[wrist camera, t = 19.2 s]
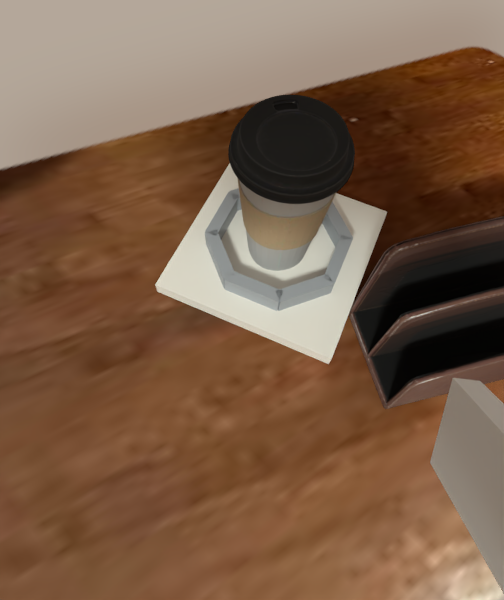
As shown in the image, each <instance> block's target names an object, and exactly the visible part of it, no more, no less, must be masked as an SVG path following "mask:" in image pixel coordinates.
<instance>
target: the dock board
mask: <svg viewBox="0 0 504 600" xmlns="http://www.w3.org/2000/svg"><path fill="white" fill-rule="evenodd" d="M386 214H387V211H384V210H381V209H379V208H376V207H373V206H370V205H367V204H365V203H362V202H359V201H356V200H354V199H351V198H348V197H345V196H343V195H340V194H337V193H336V195H335V197H334V199H333V201H332V203H331V205H330V207H329V209H328V211H327V213H326V215H325V217H324V219H323V222H322V224H321V226H320V228H319V230H318V232H317V234H316V236H315V237H314V238H313V239H312V241H311V243H310V245H309V247H308V249H307V251H306V253H305V255H304V257H303V259H302V260H301V261H300V263H298V264H297V265H296V266H294V267H292V268H290V269H286V270H280V271H272V270H268V269H265V268H262V267H261V266H259V265H258V264H257V263H256V262H255V261H254V260H253V258H252V257H251V255H250V252H249V248H248V242H247V234H246V228H245V226H244V222H243V216H242V209H241V201H240V193H239V186H238V178H237V176H236V175H235V173H234V172H233V170H232V167H231V165H230V163H229V165H228V167H227V168H226V170H225V172H224V173H223V175H222V177H221V178H220V180H219V181H218V183H217V185H216V186H215V188H214V190H213V191H212V193H211V194H210V196H209V198H208V199H207V201H206V203H205V204H204V206H203V208H202V209H201V211H200V212H199V214H198V216H197V217H196V219H195V221H194V222H193V224H192V225H191V227H190V229H189V230H188V232H187V234H186V235H185V237H184V239H183V240H182V242H181V243H180V245H179V247H178V248H177V250H176V252H175V253H174V255H173V256H172V258H171V260H170V261H169V263H168V265H167V266H166V268H165V270H164V271H163V273H162V274H161V276H160V278H159V279H158V281H157V283H156V284H155V285H156V288H157V291H158V292H160V293H162V294H164V295H167V296H169V297H171V298H174V299H176V300H179V301H181V302H183V303H186V304H188V305H190V306H193V307H195V308H197V309H200V310H202V311H205V312H207V313H209V314H212V315H214V316H216V317H219V318H221V319H223V320H226V321H228V322H230V323H233V324H235V325H238V326H240V327H242V328H245V329H247V330H249V331H252V332H254V333H256V334H259V335H261V336H264V337H266V338H268V339H271V340H273V341H275V342H278V343H280V344H282V345H285V346H287V347H289V348H292V349H294V350H297V351H299V352H301V353H304V354H306V355H308V356H311V357H313V358H315V359H318V360H320V361H323V362H325V363H327V364H329V362H330V361H331V359H332V357H333V354H334V351H335V349H336V346H337V344H338V341H339V338H340V336H341V333H342V330H343V328H344V325H345V322H346V320H347V317H348V315H349V312H350V309H351V307H352V304H353V301H354V299H355V296H356V293H357V291H358V288H359V286H360V283H361V280H362V278H363V275H364V272H365V270H366V267H367V264H368V262H369V259H370V257H371V254H372V251H373V249H374V246H375V243H376V241H377V238H378V235H379V233H380V230H381V228H382V225H383V222H384V220H385V217H386Z"/></svg>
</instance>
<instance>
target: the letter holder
mask: <svg viewBox="0 0 504 600" xmlns="http://www.w3.org/2000/svg"><path fill="white" fill-rule="evenodd" d="M349 316H350V319H351V322H352V325H353V327H354V330H355V333H356V335H357V338H358V341H359V343H360V346H361V349H362V351H363V354H364V357H365V359H366V362H367V365H368V367H369V370H370V373H371V375H372V378H373V381H374V383H375V386H376V389H377V391H378V394H379V397H380V399H381V401H382V404H383V406H384V408H385V409H388V408H391V407H395V406H399V405H403V404H407V403H411V402H416V401H419V400H423V399H427V398H430V397H435V396H438V395H443V394H447V393H449V390H450V386H451V382H452V379H453V378H460V379H468V380H476V381H481V382H482V383H483V384H486V383H490V382H494V381H498V380H502V379H504V216H502V217H498V218H494V219H488V220H484V221H480V222H475V223H471V224H467V225H463V226H458V227H454V228H450V229H446V230H441V231H438V232H434V233H431V234H427V235H423V236H419V237H416V238H412V239H408V240H404V241H401V242H399V243H397V244H394V245H392V246H391V247H389V248H388V249H387V250H386V251H385V252H384V253H383V255H382V256H381V258H380V260H379V261H378V263H377V264H376V266H375V268H374V269H373V271H372V272H371V274H370V276H369V278H368V280H367V282H366V283H365V285H364V287H363V288H362V290H361V292H360V293H359V295H358V297H357V299H356V301H355V302H354V304H353V305H352V307H351V309H350V312H349Z"/></svg>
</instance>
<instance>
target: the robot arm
mask: <svg viewBox="0 0 504 600" xmlns="http://www.w3.org/2000/svg"><path fill="white" fill-rule="evenodd" d="M430 463H431V465H432V467H433V469H434V471H435V472H436V474H437V476H438V478H439V479H440V481H441V483H442V485H443V487H444V488H445V490H446V492H447V494H448V495H449V497H450V499H451V501H452V503H453V504H454V506H455V508H456V510H457V511H458V513H459V515H460V517H461V519H462V520H463V522H464V524H465V526H466V527H467V529H468V531H469V533H470V535H471V536H472V538H473V540H474V542H475V543H476V545H477V547H478V549H479V551H480V552H481V554H482V556H483V558H484V559H485V561H486V563H487V565H488V567H489V568H490V570H491V572H492V574H493V575H494V577H495V579H496V581H497V583H498V584H499V586H500V588H501V590H502V591H503V593H504V404H503V403H502V402H501V401H500V400H499V399H498V398H497V397H496V396H495V395H494V394H493V393H492V392H491V391H490V390H489V389H488V388H487V387H486V386H485V385H484V384H483V383H482V382H481V381H476V380H468V379H460V378H453V379H452V382H451V386H450V390H449V394H448V397H447V401H446V405H445V409H444V412H443V416H442V420H441V424H440V427H439V431H438V435H437V439H436V442H435V446H434V450H433V454H432V457H431V461H430Z"/></svg>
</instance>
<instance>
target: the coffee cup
mask: <svg viewBox="0 0 504 600" xmlns="http://www.w3.org/2000/svg"><path fill="white" fill-rule="evenodd" d="M354 155H355V151H354V144H353V141H352V138H351V136H350V134H349V132H348V128H347V126H346V124H345V122H344V120H343V119H342V117H341V116H340V115H339V114H338V113H337V112H336V111H335V110H334V109H332V108H331V107H330V106H328V105H327V104H325V103H323V102H321V101H319V100H316V99H313V98H310V97H306V96H300V95H281V96H275V97H271V98H268V99H265V100H263V101H261V102H259V103H257V104H256V105H254V106H253V107H252V108H251V109H250V110H249V111H248V112H247V113H246V115H245V116H244V117H243V118H242V119H241V121H240V122H239V123H238V124H237V126H236V127H235V129H234V131H233V134H232V137H231V141H230V145H229V161H230V165H231V167H232V170H233V172H234V173H235V175H236V176H237V178H238V186H239V193H240V201H241V209H242V216H243V222H244V226H245V228H246V234H247V242H248V248H249V252H250V255H251V257H252V258H253V260H254V261H255V262H256V263H257V264H258V265H259V266H261V267H262V268H265V269H268V270H272V271H280V270H286V269H290V268H292V267H294V266H296V265H297V264H298V263H300V261H301V260H302V259H303V257H304V255H305V253H306V251H307V249H308V247H309V245H310V243H311V241H312V239H313V238H314V237H315V236H316V234H317V232H318V230H319V228H320V226H321V224H322V222H323V219H324V217H325V215H326V213H327V211H328V209H329V207H330V205H331V203H332V201H333V199H334V197H335V195H336V192H337V191H338V190H339V189H341V188H342V187H343V186H344V185H345V183H346V182H347V181H348V179H349V177H350V175H351V173H352V170H353V166H354Z"/></svg>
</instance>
